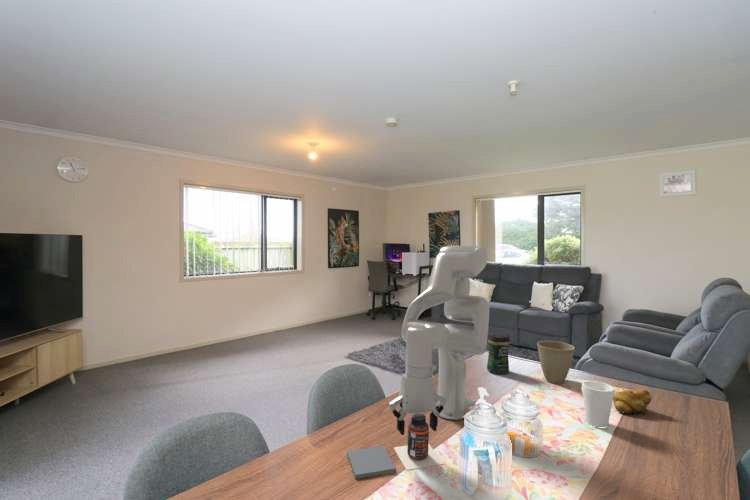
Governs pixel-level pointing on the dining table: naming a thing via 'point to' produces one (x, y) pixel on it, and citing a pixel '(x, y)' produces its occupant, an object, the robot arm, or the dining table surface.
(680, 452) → the dining table surface
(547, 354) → the plant pot
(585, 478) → the dining table surface
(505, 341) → the coffee jar
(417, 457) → the supplement bottle
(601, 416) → the foam cup
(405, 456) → the tile
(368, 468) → the place mat
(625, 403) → the bread roll
